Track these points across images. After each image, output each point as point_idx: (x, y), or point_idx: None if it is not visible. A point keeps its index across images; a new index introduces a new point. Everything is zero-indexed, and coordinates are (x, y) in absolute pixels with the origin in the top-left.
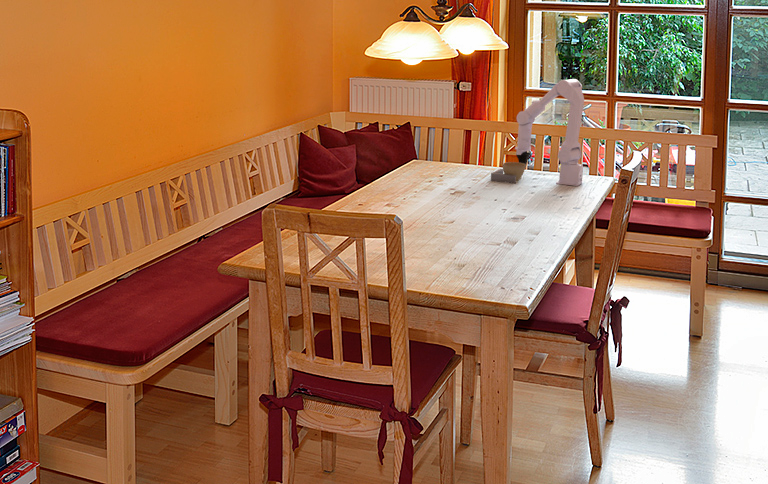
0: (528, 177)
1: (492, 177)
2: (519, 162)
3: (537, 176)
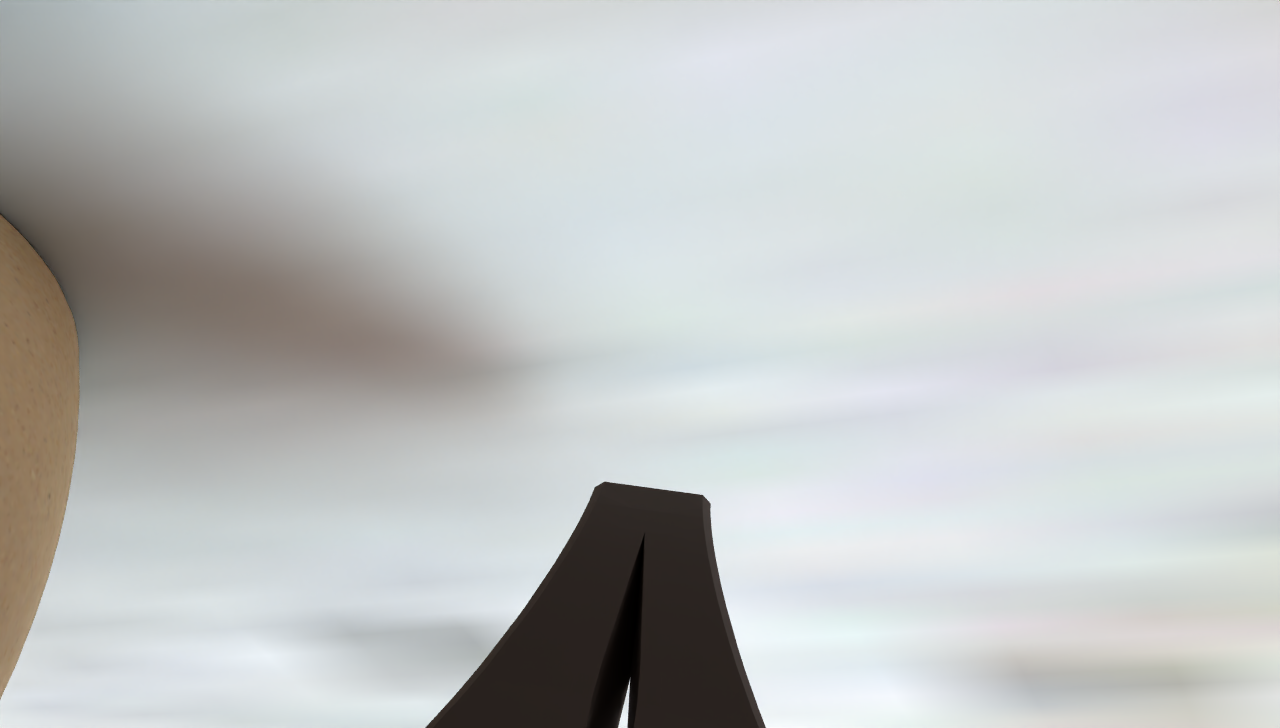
0: (531, 540)
1: None
2: (504, 656)
3: (764, 674)
